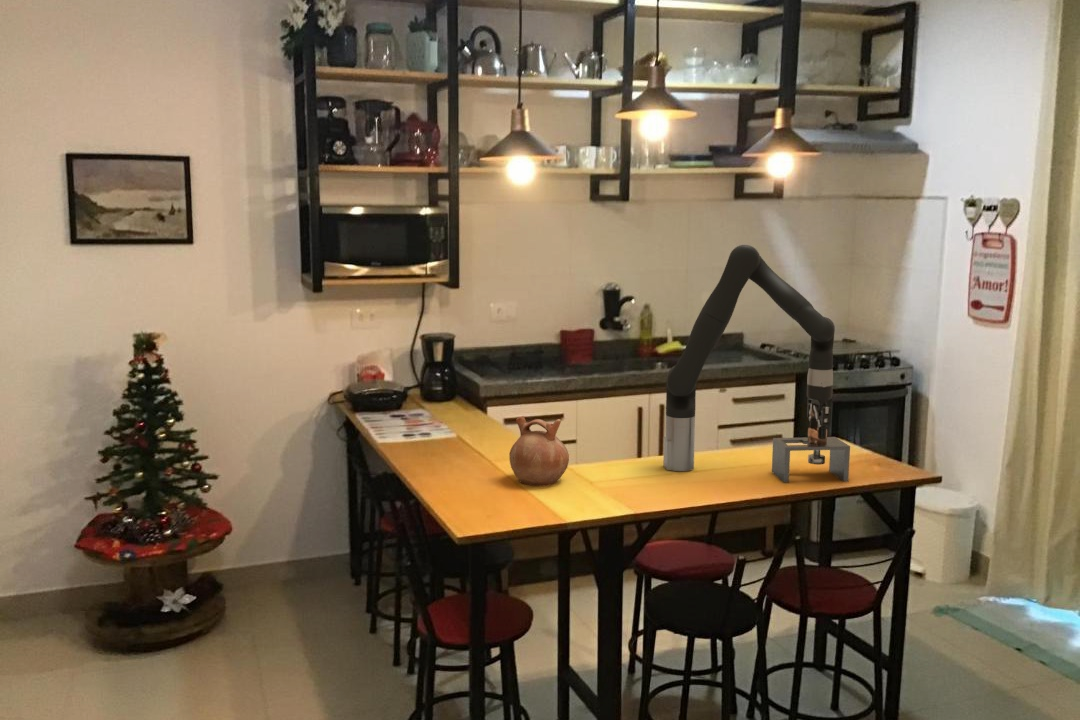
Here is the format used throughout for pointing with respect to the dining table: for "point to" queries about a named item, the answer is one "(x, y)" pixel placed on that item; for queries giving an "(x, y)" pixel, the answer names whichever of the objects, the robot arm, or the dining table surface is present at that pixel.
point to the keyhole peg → (814, 439)
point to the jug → (538, 454)
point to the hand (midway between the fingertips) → (817, 435)
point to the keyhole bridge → (836, 447)
